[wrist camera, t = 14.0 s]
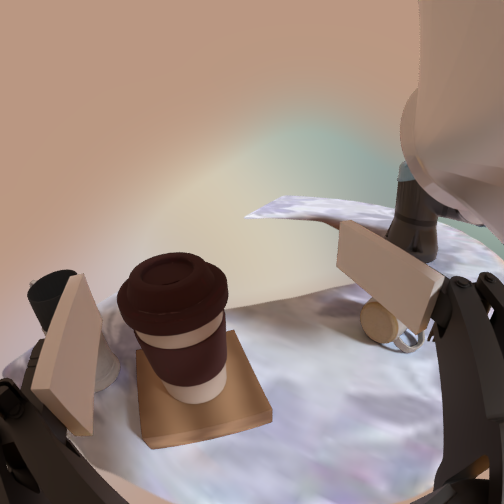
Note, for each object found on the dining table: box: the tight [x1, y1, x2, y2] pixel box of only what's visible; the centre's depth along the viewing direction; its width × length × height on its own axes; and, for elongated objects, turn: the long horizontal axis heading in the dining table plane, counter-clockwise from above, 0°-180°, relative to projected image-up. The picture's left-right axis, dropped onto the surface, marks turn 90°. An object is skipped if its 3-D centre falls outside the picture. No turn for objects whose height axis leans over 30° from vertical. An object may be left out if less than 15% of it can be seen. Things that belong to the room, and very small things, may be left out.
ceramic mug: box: [360, 297, 425, 353], centre depth 35 cm, size 11×8×8 cm
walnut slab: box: [136, 330, 272, 449], centre depth 30 cm, size 14×14×3 cm
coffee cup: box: [117, 252, 228, 404], centre depth 26 cm, size 10×10×15 cm
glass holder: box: [27, 270, 120, 392], centre depth 30 cm, size 9×14×15 cm, turn 69°
